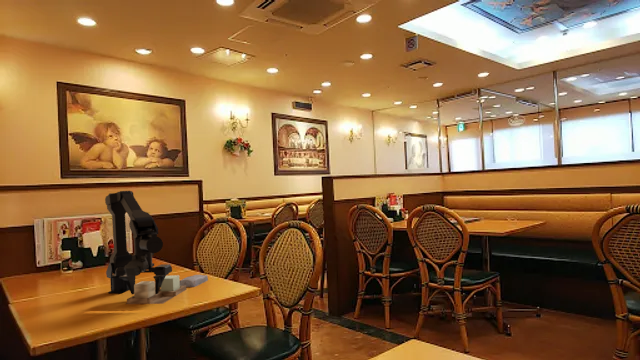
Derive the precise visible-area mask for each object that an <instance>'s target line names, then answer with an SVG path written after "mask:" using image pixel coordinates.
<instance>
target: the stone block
mask: <svg viewBox="0 0 640 360" xmlns="http://www.w3.org/2000/svg"><path fill="white" fill-rule="evenodd" d="M179 280H180V286H186V288H195V287H198V286H200V285H201V284H204V283H206V282H208V280H209V278H208V274H205V275H202V274H194V275H190V276H187V277H184V278H183V279H179Z"/></svg>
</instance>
